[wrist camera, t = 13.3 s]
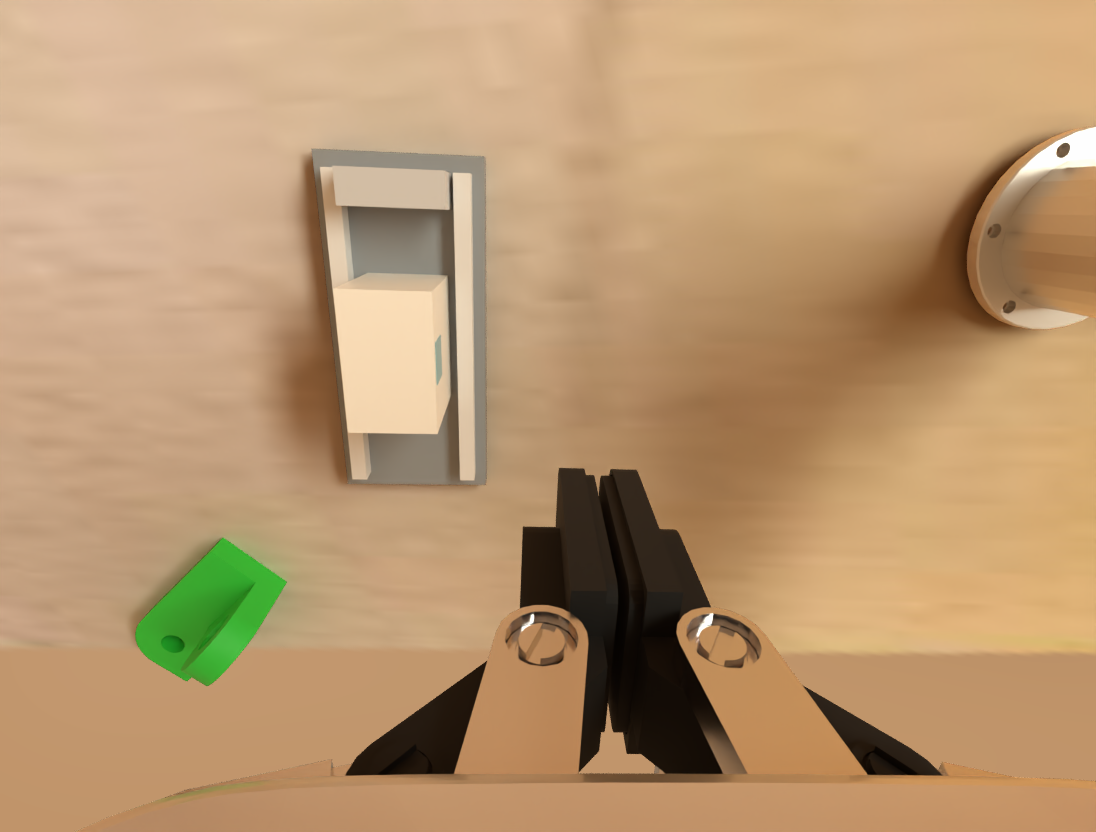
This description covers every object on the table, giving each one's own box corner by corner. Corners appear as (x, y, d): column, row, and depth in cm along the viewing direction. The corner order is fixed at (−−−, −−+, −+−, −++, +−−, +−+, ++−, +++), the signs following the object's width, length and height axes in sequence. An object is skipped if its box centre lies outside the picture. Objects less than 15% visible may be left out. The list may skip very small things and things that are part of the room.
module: (448, 275, 34) (432, 291, 28) (452, 394, 37) (438, 434, 31) (367, 272, 34) (331, 288, 28) (376, 392, 37) (347, 432, 31)
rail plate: (485, 158, 33) (481, 152, 29) (486, 477, 41) (483, 506, 37) (318, 150, 33) (291, 143, 29) (352, 476, 41) (335, 505, 37)
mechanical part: (224, 536, 42) (161, 607, 35) (287, 580, 44) (240, 657, 36) (136, 623, 45) (60, 707, 37) (200, 662, 46) (139, 749, 39)
